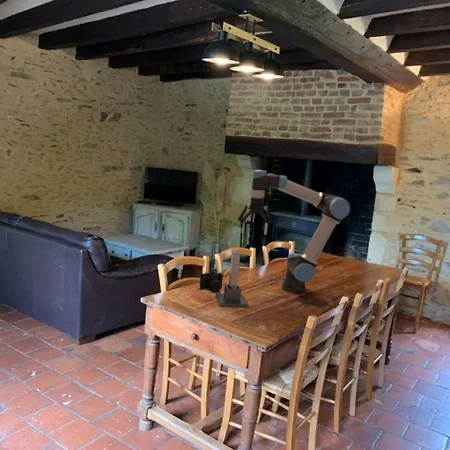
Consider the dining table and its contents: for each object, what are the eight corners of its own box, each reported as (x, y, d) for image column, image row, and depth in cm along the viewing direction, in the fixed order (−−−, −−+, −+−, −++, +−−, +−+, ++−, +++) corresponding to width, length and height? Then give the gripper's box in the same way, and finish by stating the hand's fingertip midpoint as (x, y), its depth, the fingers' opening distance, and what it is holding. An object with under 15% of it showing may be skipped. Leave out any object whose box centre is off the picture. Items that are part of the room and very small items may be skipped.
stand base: (242, 296, 244) (244, 281, 242) (248, 307, 228) (250, 290, 227) (215, 295, 241) (217, 280, 240) (219, 306, 226) (220, 289, 224)
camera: (203, 292, 245) (204, 276, 244) (198, 286, 255) (199, 270, 254) (225, 292, 250) (227, 276, 248) (220, 286, 260) (221, 270, 258)
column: (235, 286, 237) (238, 250, 233) (237, 290, 231) (240, 253, 227) (228, 286, 236) (231, 250, 232) (230, 290, 230) (233, 253, 227)
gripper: (276, 198, 245) (273, 233, 249) (235, 195, 241) (231, 231, 245) (280, 199, 238) (276, 236, 241) (237, 196, 234) (233, 233, 237)
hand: (253, 233), depth 243 cm, fingers open, 13 cm apart
